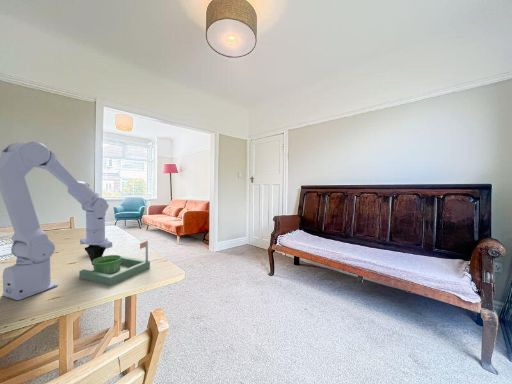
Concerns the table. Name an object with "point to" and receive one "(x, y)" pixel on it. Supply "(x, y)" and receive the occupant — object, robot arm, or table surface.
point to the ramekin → (107, 264)
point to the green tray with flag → (107, 279)
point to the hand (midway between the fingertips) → (96, 264)
